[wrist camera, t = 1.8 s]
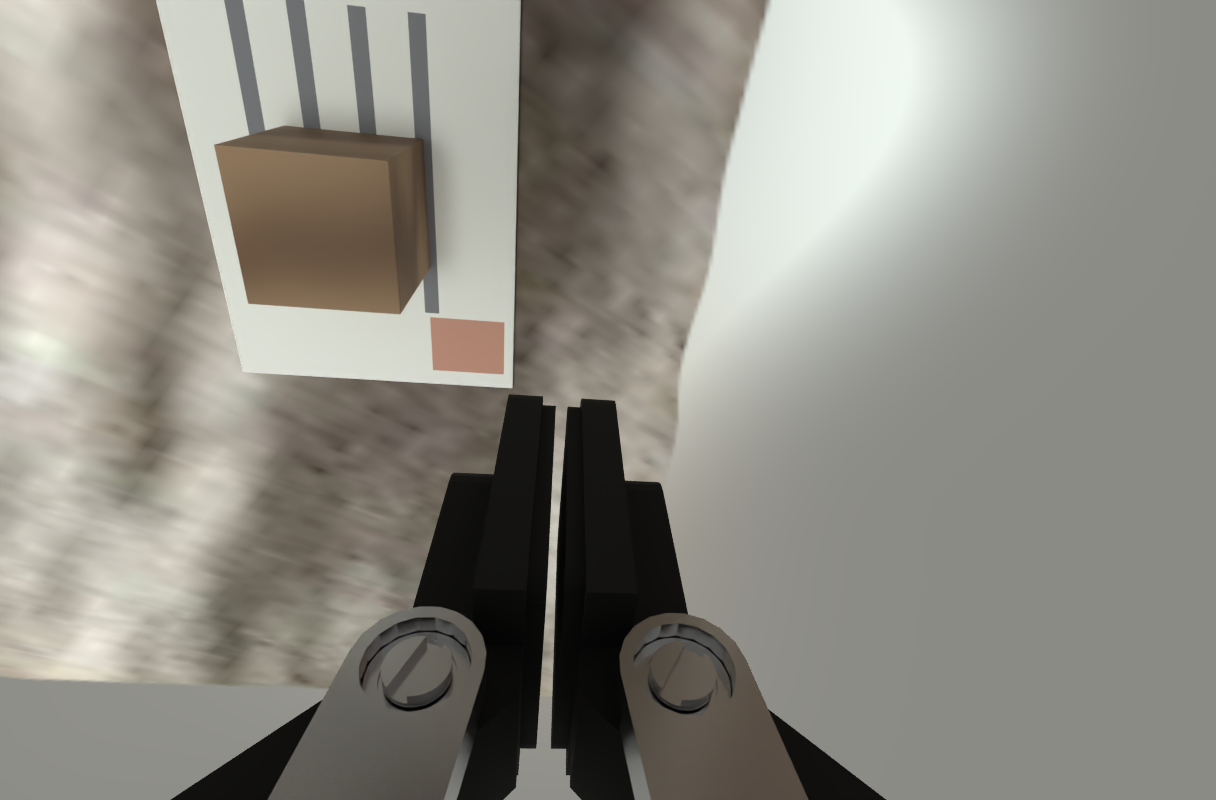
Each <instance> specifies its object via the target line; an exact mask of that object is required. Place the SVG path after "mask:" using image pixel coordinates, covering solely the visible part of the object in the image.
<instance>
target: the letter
mask: <svg viewBox="0 0 1216 800" xmlns="http://www.w3.org/2000/svg"><path fill="white" fill-rule="evenodd" d="M156 3H157V7H158V11H159V15H160V20H161V24H162V28H163V32H164V37H165V41H166V45H167V50H168V54H169V58H170V62H171V67H172V71H173V75H174V79H175V84H176V88H177V92H178V96H179V101H180V105H181V109H182V114H183V118H184V122H185V126H186V131H187V135H188V139H189V143H190V148H191V152H192V156H193V161H194V165H195V169H196V173H197V178H198V182H199V186H200V190H201V195H202V199H203V203H204V208H205V212H206V216H207V220H208V225H209V229H210V233H211V237H212V242H213V246H214V250H215V254H216V259H217V263H218V267H219V272H220V276H221V280H222V284H223V289H224V293H225V297H226V301H227V306H228V310H229V314H230V319H231V323H232V327H233V331H234V336H235V340H236V344H237V348H238V353H239V357H240V361H241V366H242V370H243V372H252V373H268V374H285V375H301V376H318V377H335V378H351V379H368V380H385V381H401V382H418V383H434V384H451V385H468V386H484V387H501V388H512V387H513V352H514V305H515V257H516V210H517V163H518V116H519V69H520V21H521V0H156ZM281 126H294V127H304V128H314V129H324V130H335V131H345V132H355V133H366V134H376V135H386V136H396V137H407V138H417V139H423V145H424V165H425V184H426V203H427V222H428V241H429V260H430V269H429V271H428V272H427V274H426V275H425V277H424V278H423V280H422V281H421V283H420V285H419V286H418V288H417V289H416V291H415V292H414V294H413V295H412V297H411V299H410V300H409V302H408V303H407V305H406V306H405V308H404V309H403V311H402V313H401V314H387V313H372V312H358V311H344V310H330V309H315V308H301V307H287V306H273V305H259V304H248V300H247V296H246V291H245V286H244V282H243V277H242V273H241V268H240V263H239V259H238V254H237V249H236V245H235V240H234V235H233V231H232V226H231V221H230V217H229V212H228V208H227V203H226V198H225V194H224V189H223V184H222V180H221V175H220V170H219V166H218V161H217V156H216V152H215V147H214V145H215V144H219V143H222V142H226V141H230V140H233V139H237V138H240V137H244V136H248V135H251V134H255V133H259V132H262V131H266V130H270V129H273V128H277V127H281Z"/></svg>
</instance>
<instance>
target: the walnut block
mask: <svg viewBox="0 0 1216 800" xmlns="http://www.w3.org/2000/svg"><path fill="white" fill-rule="evenodd" d="M214 147H215V152H216V156H217V161H218V166H219V170H220V175H221V180H222V184H223V189H224V194H225V198H226V203H227V208H228V212H229V217H230V221H231V226H232V231H233V235H234V240H235V245H236V249H237V254H238V259H239V263H240V268H241V273H242V277H243V282H244V286H245V291H246V296H247V300H248V304H259V305H273V306H287V307H301V308H315V309H330V310H344V311H358V312H372V313H387V314H401V313H402V311H403V309H404V308H405V306H406V305H407V303H408V302H409V300H410V299H411V297H412V295H413V294H414V292H415V291H416V289H417V288H418V286H419V285H420V283H421V281H422V280H423V278H424V277H425V275H426V274H427V272H428V271H429V269H430V260H429V241H428V222H427V203H426V184H425V165H424V145H423V139H417V138H407V137H396V136H386V135H376V134H366V133H355V132H345V131H335V130H324V129H314V128H304V127H294V126H281V127H277V128H273V129H270V130H266V131H262V132H259V133H255V134H251V135H248V136H244V137H240V138H237V139H233V140H230V141H226V142H222V143H219V144H215V145H214Z"/></svg>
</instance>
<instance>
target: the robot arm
mask: <svg viewBox="0 0 1216 800" xmlns="http://www.w3.org/2000/svg"><path fill="white" fill-rule="evenodd" d="M555 410H556V406H546V405H543V396H527V395H510V394H509V396H508V401H507V407H506V412H505V417H504V423H503V428H502V433H501V439H500V444H499V450H498V455H497V460H496V466H495V471H494V475H493V474H472V473H453V474H452V475H451V478H450V480H449V484H448V487H447V491H446V494H445V497H444V501H443V504H442V508H441V511H440V515H439V518H438V522H437V525H436V529H435V532H434V536H433V539H432V543H431V546H430V550H429V553H428V557H427V560H426V564H425V567H424V571H423V574H422V578H421V581H420V585H419V588H418V592H417V595H416V599H415V602H414V606H413V608H410V609H406V610H401V611H398V612H396V613H394V614H392V615H390V616H387V617H385V618H383V619H381V620H379V621H378V622H377V623H375V624H374V625H373V626H372V627H370V628H369V629H368V630H367V631H365V632H364V633H363V634H362V635H361V636H360V638H359V639H358V640H357V642H356V643H355V644H354V646H353V647H352V648H351V650H350V651H349V653H348V655H347V656H346V658H345V660H344V662H343V664H342V665H341V667H340V669H339V671H338V673H337V675H336V676H335V678H334V680H333V682H332V684H331V685H330V687H329V689H328V691H327V693H326V695H325V696H324V698H323V700H321V701H320V702H318V703H317V704H315V705H314V706H312V707H311V708H309V709H308V710H306V711H305V712H303V713H301V714H300V715H298V716H297V717H295V718H294V719H293V720H291V721H289V722H288V723H286V724H285V725H283V726H282V727H280V728H279V729H277V730H276V731H274V732H273V733H271V734H270V735H268V736H267V737H265V738H264V739H262V740H261V741H259V742H257V743H256V744H255V745H253V746H251V747H250V748H248V749H247V750H245V751H244V752H242V753H241V754H239V755H238V756H236V757H235V758H233V759H232V760H230V761H229V762H227V763H226V764H224V765H223V766H221V767H220V768H218V769H217V770H215V771H213V772H212V773H210V774H209V775H208V776H206V777H204V778H203V779H201V780H200V781H198V782H197V783H195V784H194V785H192V786H191V787H189V788H188V789H186V790H185V791H183V792H182V793H180V794H179V795H177V796H176V797H174V798H173V799H171V800H503V799H504V798H505V797H506V796H507V795H508V794H509V793H510V792H511V791H513V790H514V789H515V788H516V777H517V775H518V769H519V756H520V748H536V744H537V729H538V713H539V699H540V684H541V669H542V654H543V639H544V624H545V609H546V592H547V574H548V554H549V533H550V513H551V492H552V472H553V451H554V431H555ZM554 748H555V749H566V775H570V788H571V789H572V790H573V791H574V792H575V793H576V794H577V795H578V796H579V797H580V798H581V800H886V799H884V798H883V797H882V796H880V795H879V794H878V793H877V792H875V791H874V790H873V789H871V788H870V787H869V786H867V785H866V784H865V783H864V782H862V781H861V780H860V779H858V778H857V777H856V776H855V775H853V774H852V773H851V772H849V771H848V770H847V769H845V768H844V767H843V766H841V765H840V764H839V763H838V762H836V761H835V760H834V759H832V758H831V757H830V756H828V755H827V754H826V753H825V752H823V751H822V750H821V749H819V748H818V747H817V746H816V745H814V744H813V743H811V742H810V741H809V740H808V739H806V738H805V737H804V736H802V735H801V734H800V733H798V732H797V731H796V730H795V729H793V728H792V727H791V726H789V725H788V724H787V723H786V722H784V721H783V720H782V719H780V718H779V717H778V716H776V715H775V714H774V713H772V712H771V711H770V710H769V709H768V708H767V706H766V703H765V701H764V699H763V697H762V694H761V692H760V690H759V688H758V686H757V683H756V681H755V679H754V676H753V674H752V672H751V670H750V667H749V665H748V663H747V661H746V659H745V657H744V655H743V654H742V652H741V651H740V649H739V647H738V646H737V645H736V643H735V642H734V641H733V640H732V639H731V638H730V637H729V636H728V635H727V634H726V633H725V632H724V631H723V630H721V629H720V628H719V627H717V626H715V625H713V624H711V623H710V622H708V621H706V620H705V619H702V618H698V617H695V616H692V615H688V612H687V608H686V602H685V597H684V592H683V588H682V582H681V577H680V573H679V568H678V563H677V558H676V553H675V548H674V543H673V538H672V533H671V529H670V524H669V519H668V513H667V509H666V504H665V499H664V494H663V490H662V486H661V484H660V483H659V482H641V481H625V478H624V470H623V461H622V453H621V445H620V436H619V428H618V420H617V411H616V403H615V401H611V400H594V399H581V405H580V407H568V409H567V422H566V435H565V448H564V462H563V475H562V488H561V502H560V515H559V528H558V544H557V571H556V602H555V634H554V665H553V696H552V728H551V749H554Z"/></svg>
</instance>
